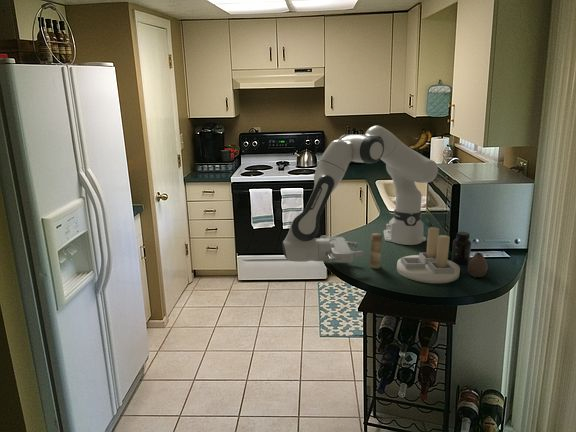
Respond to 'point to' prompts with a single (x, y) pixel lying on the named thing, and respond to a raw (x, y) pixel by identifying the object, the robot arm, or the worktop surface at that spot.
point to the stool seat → (430, 261)
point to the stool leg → (375, 250)
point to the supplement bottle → (461, 248)
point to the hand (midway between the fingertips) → (360, 249)
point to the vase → (477, 265)
